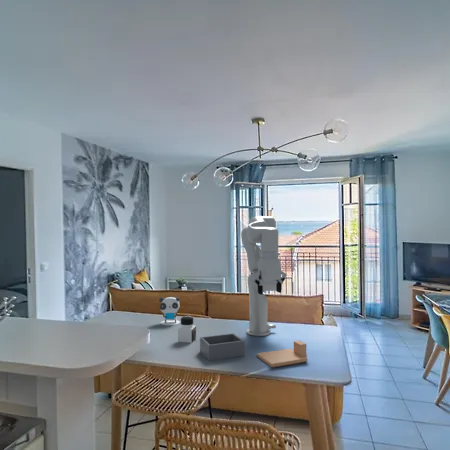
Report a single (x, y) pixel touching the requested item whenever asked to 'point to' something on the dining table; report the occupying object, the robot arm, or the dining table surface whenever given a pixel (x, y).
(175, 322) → the panda figurine
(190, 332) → the medicine bottle
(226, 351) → the grey tray
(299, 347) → the lid
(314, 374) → the dining table surface
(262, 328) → the robot arm
